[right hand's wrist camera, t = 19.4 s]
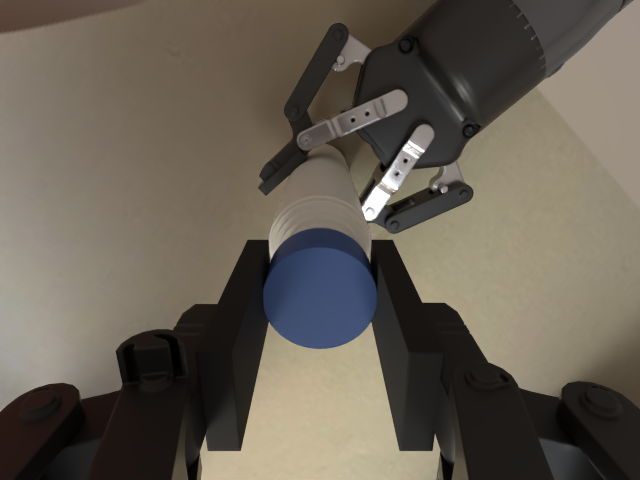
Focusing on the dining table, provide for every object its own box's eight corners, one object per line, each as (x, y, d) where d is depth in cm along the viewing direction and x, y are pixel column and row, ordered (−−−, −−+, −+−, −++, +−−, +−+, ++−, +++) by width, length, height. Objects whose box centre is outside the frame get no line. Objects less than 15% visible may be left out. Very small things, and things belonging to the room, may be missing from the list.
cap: (374, 227, 14) (381, 247, 12) (368, 320, 15) (374, 349, 14) (267, 226, 14) (260, 245, 12) (270, 319, 15) (263, 348, 14)
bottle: (292, 196, 34) (254, 345, 14) (293, 141, 32) (252, 226, 13) (345, 198, 34) (379, 350, 14) (349, 144, 32) (393, 232, 13)
